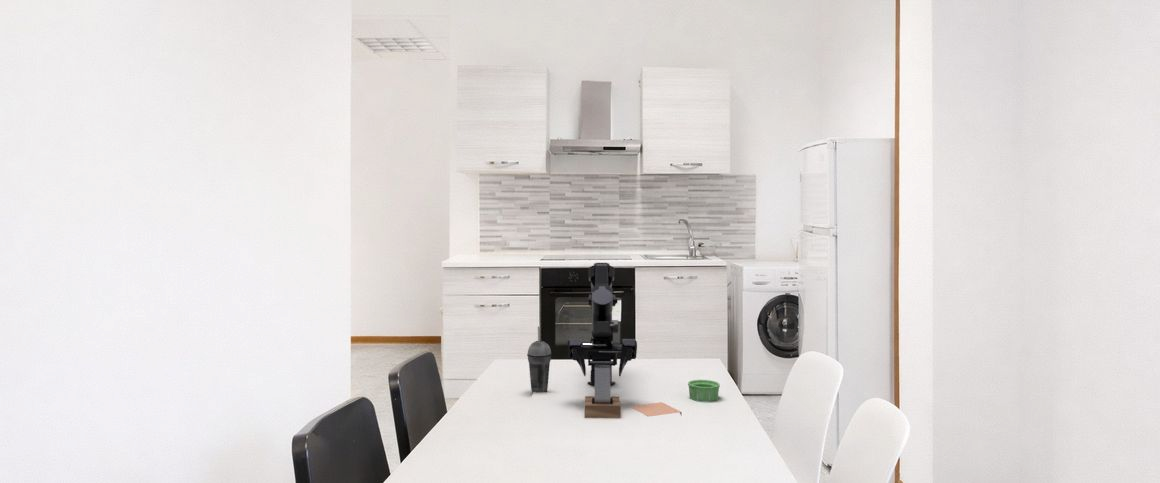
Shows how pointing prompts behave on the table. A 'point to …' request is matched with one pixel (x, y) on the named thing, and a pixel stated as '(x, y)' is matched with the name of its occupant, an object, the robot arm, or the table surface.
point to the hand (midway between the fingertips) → (602, 375)
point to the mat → (655, 409)
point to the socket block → (602, 408)
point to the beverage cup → (539, 364)
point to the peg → (602, 384)
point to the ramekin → (703, 390)
